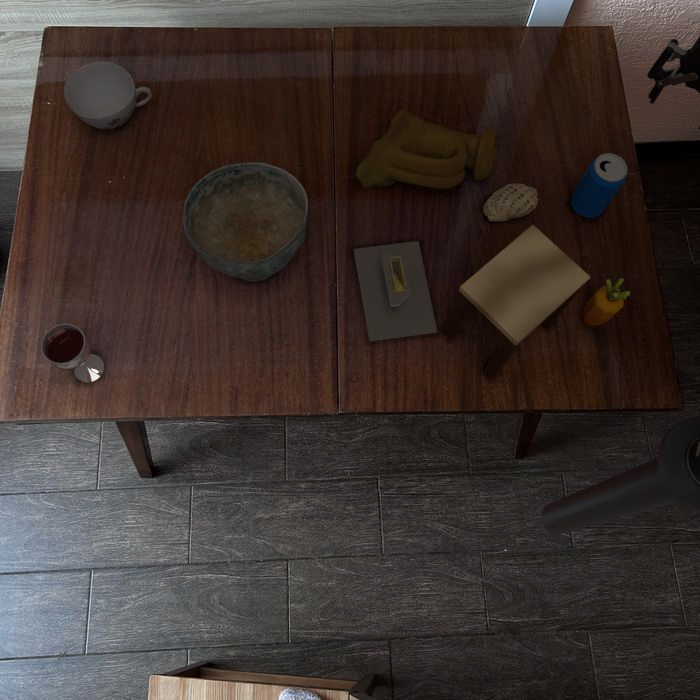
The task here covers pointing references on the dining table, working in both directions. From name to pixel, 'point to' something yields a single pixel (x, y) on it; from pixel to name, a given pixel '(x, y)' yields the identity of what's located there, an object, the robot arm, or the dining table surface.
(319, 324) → the dining table surface
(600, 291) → the carrot
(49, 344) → the wineglass
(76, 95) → the teacup
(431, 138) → the brown looped sculpture
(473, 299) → the stool
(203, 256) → the bowl
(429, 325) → the platform
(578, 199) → the beverage can
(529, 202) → the seashell
